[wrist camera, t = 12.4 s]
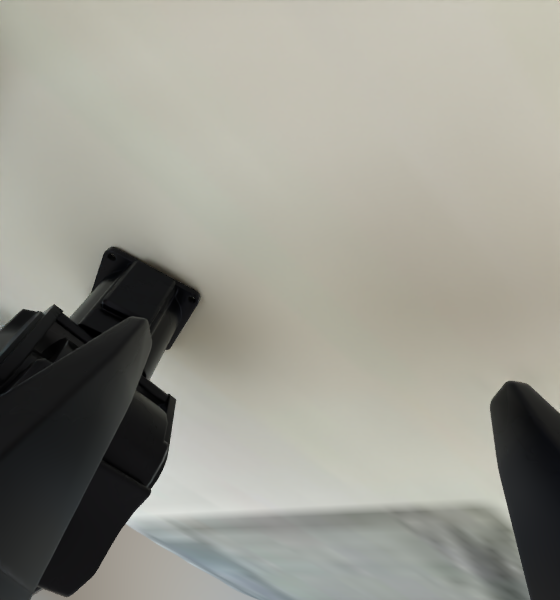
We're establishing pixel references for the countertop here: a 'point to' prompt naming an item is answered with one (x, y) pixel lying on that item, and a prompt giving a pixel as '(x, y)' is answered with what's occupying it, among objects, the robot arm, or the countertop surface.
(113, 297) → the robot arm
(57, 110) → the countertop surface
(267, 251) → the countertop surface
